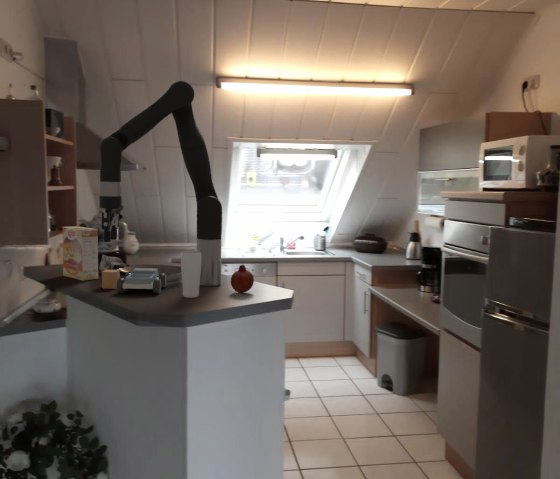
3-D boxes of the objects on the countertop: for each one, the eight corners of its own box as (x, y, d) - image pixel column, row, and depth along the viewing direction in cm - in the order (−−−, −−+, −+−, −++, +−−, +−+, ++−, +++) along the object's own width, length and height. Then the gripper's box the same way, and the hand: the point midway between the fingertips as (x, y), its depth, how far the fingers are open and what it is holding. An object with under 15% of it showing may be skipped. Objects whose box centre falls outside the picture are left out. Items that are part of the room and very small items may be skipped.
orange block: (119, 286, 194) (119, 269, 193) (116, 288, 189) (116, 272, 188) (105, 286, 193) (105, 269, 193) (102, 288, 188) (101, 271, 188)
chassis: (166, 285, 196) (166, 268, 195) (158, 294, 180) (158, 275, 179) (127, 285, 195) (127, 267, 195) (116, 294, 179) (116, 275, 179)
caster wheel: (133, 278, 222) (112, 278, 215) (117, 270, 229) (97, 269, 221) (137, 263, 222) (116, 262, 214) (121, 255, 229) (101, 253, 221)
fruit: (248, 296, 181) (248, 267, 180) (226, 294, 184) (227, 265, 183) (257, 292, 189) (257, 264, 188) (236, 290, 192) (236, 262, 191)
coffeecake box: (62, 275, 211) (61, 226, 209) (79, 273, 217) (78, 226, 215) (81, 280, 202) (81, 229, 200) (99, 278, 207) (98, 228, 205)
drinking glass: (191, 299, 174) (192, 254, 173) (176, 296, 178) (176, 252, 176) (205, 296, 180) (205, 252, 178) (190, 293, 183) (190, 250, 182)
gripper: (116, 195, 181) (116, 243, 182) (126, 194, 195) (126, 238, 197) (93, 195, 180) (93, 242, 182) (105, 194, 195) (105, 238, 196)
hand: (110, 240), depth 189 cm, fingers open, 8 cm apart
